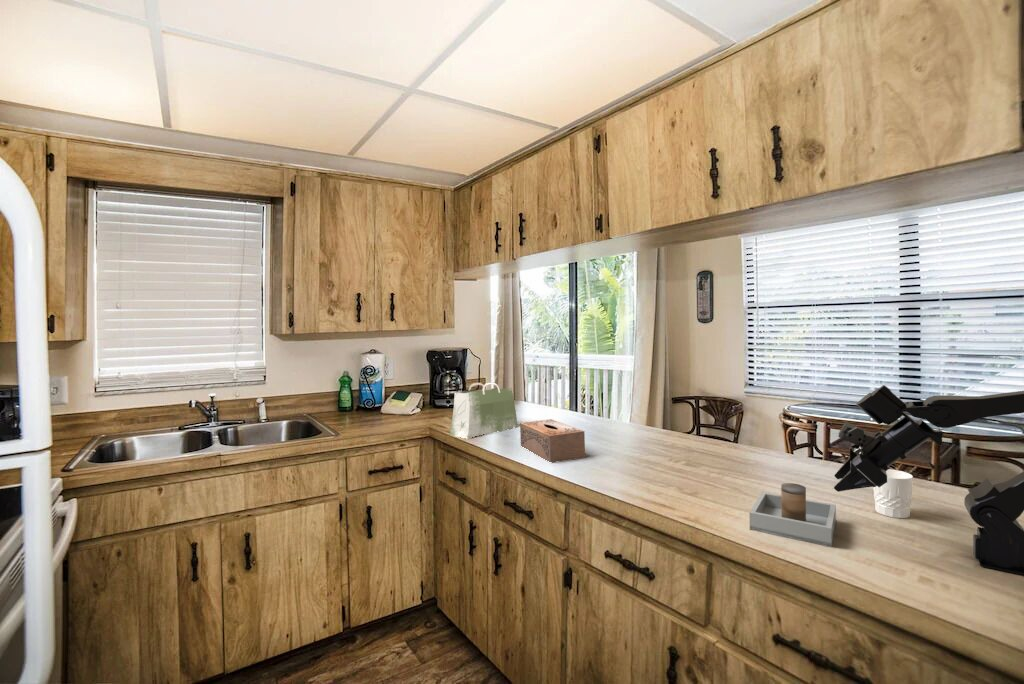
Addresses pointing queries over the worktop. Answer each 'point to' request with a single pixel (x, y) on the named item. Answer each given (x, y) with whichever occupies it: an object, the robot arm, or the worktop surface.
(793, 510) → the spice jar
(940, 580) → the worktop surface
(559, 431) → the tissue box cover
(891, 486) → the white cup
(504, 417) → the grocery bag
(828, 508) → the bin
